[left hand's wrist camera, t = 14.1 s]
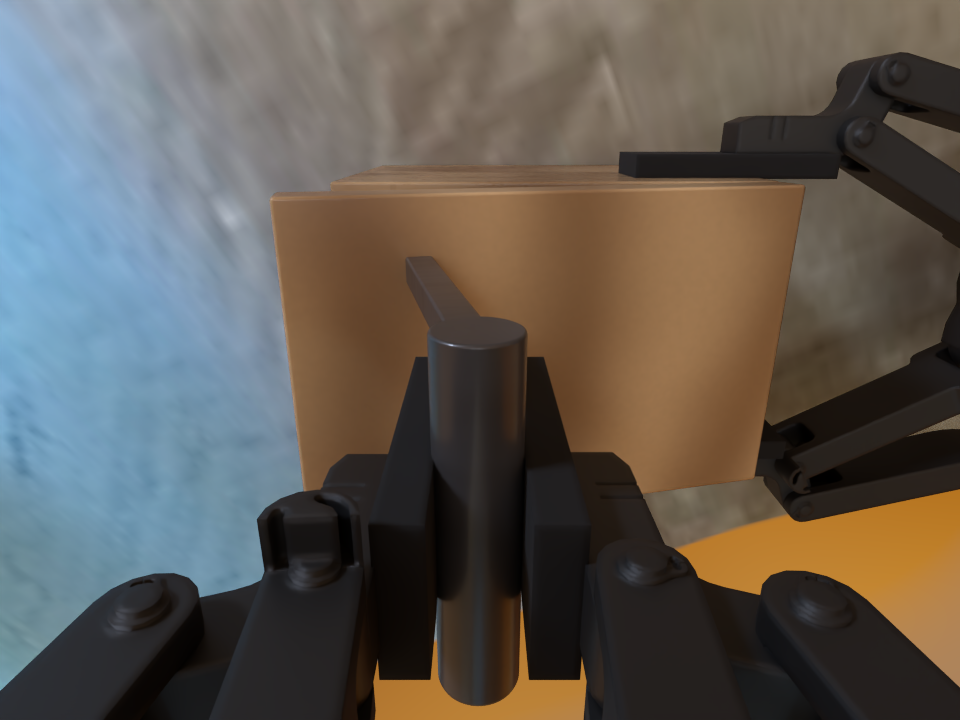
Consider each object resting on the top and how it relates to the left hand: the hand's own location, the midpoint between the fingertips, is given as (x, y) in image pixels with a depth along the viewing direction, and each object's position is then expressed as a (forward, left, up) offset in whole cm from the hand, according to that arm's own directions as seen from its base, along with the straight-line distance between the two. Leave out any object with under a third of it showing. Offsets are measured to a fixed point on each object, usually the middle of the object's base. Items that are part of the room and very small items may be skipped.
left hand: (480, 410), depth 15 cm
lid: (+2, 0, -4) cm, 5 cm away
